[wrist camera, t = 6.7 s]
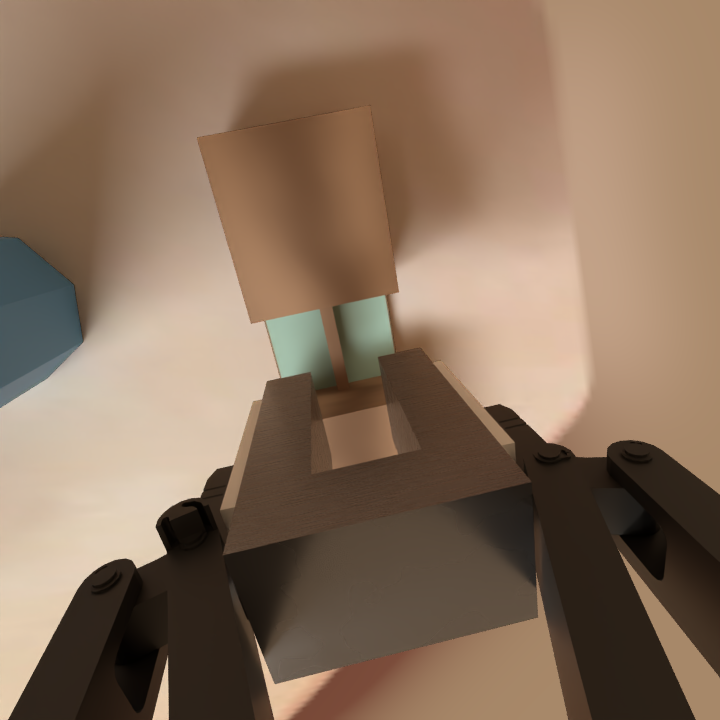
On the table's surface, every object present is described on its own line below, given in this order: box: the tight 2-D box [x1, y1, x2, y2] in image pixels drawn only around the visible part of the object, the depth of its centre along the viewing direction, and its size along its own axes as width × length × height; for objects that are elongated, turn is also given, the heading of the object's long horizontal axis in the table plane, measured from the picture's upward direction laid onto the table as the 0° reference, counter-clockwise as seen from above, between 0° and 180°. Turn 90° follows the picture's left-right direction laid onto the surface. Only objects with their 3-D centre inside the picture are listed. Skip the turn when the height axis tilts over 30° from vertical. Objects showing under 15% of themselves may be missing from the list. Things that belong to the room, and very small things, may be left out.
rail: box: [197, 105, 399, 469], centre depth 26 cm, size 8×28×5 cm, turn 11°
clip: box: [223, 348, 538, 684], centre depth 13 cm, size 6×4×9 cm, turn 101°
